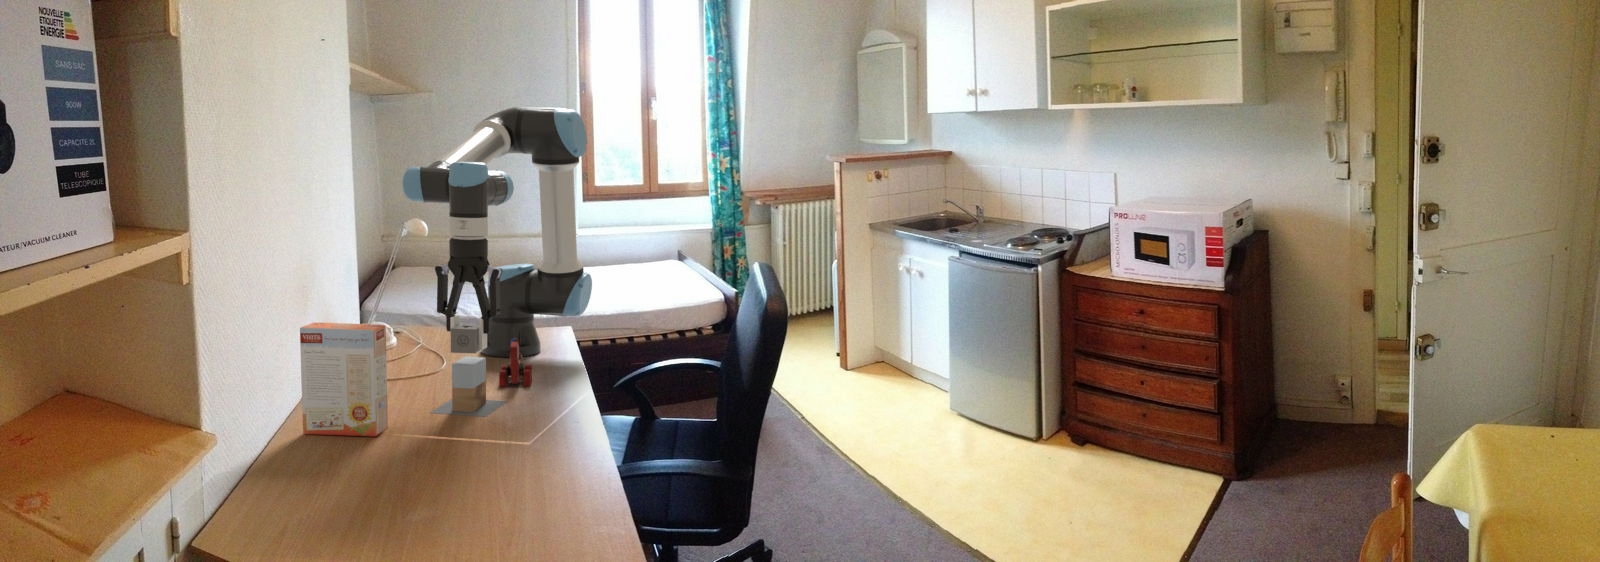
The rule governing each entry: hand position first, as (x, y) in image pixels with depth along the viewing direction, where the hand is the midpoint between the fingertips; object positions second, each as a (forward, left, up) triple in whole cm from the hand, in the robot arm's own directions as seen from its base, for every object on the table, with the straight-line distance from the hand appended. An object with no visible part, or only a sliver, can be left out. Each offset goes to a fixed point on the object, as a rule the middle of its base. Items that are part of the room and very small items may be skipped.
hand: (468, 347), depth 205 cm
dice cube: (+1, 0, -1) cm, 1 cm away
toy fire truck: (-22, +2, -14) cm, 26 cm away
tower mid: (0, 0, -8) cm, 8 cm away
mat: (0, 0, -13) cm, 13 cm away
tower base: (0, 0, -13) cm, 13 cm away
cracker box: (+20, -16, -13) cm, 29 cm away
